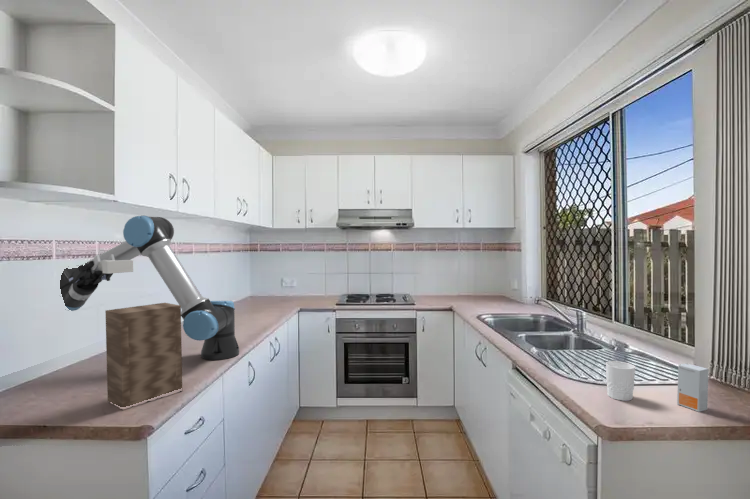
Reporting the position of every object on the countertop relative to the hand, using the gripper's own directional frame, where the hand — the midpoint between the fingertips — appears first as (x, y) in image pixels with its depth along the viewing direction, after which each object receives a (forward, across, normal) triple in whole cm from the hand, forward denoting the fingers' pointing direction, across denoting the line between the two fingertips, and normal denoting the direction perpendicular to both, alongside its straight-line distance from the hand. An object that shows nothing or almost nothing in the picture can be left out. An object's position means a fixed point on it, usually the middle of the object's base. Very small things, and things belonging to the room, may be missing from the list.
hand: (105, 257), depth 149 cm
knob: (0, 0, -5) cm, 5 cm away
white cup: (+108, -85, -112) cm, 177 cm away
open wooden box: (+4, +1, -52) cm, 52 cm away
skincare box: (+124, -88, -121) cm, 194 cm away
